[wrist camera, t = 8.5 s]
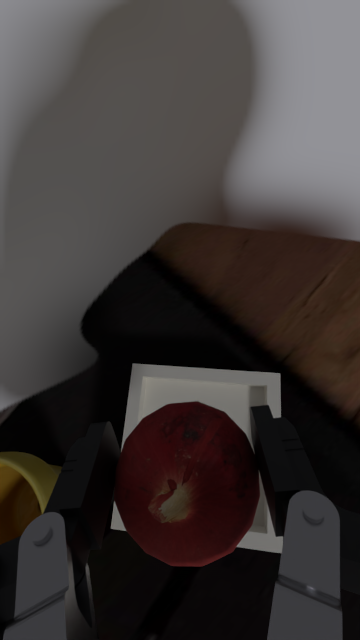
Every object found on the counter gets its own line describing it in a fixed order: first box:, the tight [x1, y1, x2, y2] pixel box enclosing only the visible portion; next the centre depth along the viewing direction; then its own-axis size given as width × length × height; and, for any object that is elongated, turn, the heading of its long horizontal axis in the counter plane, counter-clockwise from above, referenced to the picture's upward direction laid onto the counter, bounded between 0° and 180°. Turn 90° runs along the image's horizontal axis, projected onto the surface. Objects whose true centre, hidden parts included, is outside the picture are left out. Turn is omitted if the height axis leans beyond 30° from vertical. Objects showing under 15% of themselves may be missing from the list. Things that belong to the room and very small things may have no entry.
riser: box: [111, 363, 283, 553], centre depth 26 cm, size 12×12×6 cm
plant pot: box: [0, 452, 62, 544], centre depth 24 cm, size 10×10×10 cm
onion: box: [114, 401, 260, 566], centre depth 12 cm, size 6×6×8 cm
